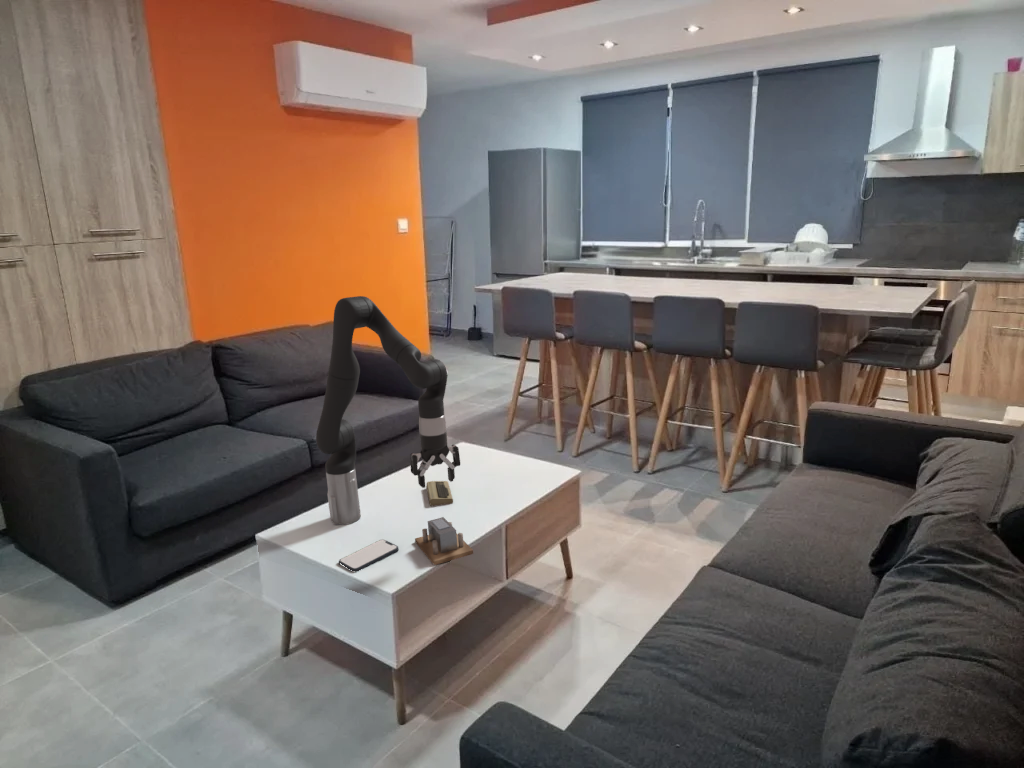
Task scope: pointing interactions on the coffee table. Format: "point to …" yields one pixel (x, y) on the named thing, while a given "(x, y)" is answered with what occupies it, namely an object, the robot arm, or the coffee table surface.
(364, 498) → the coffee table surface
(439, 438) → the robot arm
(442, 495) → the computer
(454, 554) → the tray
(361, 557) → the smartphone
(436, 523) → the block
